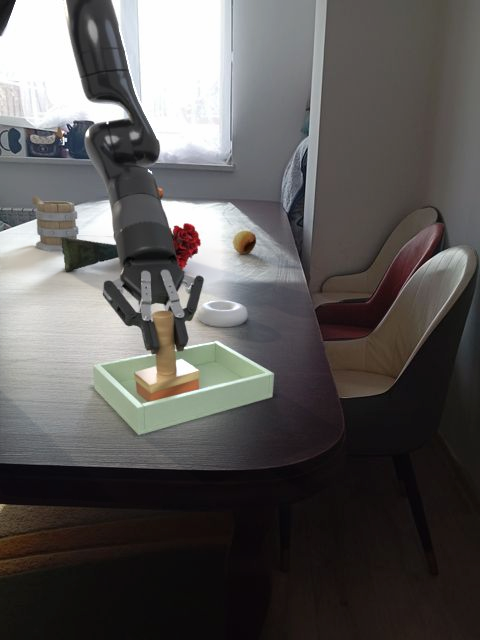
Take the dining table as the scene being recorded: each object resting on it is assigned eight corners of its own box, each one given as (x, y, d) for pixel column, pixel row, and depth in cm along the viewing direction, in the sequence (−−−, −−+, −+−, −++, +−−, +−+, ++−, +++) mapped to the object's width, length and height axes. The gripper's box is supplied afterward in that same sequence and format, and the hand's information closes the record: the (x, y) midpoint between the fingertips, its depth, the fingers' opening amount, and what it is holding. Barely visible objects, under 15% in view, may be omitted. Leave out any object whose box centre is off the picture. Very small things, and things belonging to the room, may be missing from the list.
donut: (251, 330, 98) (242, 313, 107) (252, 312, 97) (243, 297, 106) (199, 331, 96) (194, 314, 105) (199, 313, 95) (194, 298, 104)
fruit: (256, 253, 174) (257, 229, 171) (253, 257, 166) (254, 232, 163) (234, 251, 174) (235, 227, 171) (230, 256, 166) (231, 231, 164)
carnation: (69, 301, 136) (198, 288, 147) (63, 267, 119) (209, 256, 131) (62, 249, 140) (188, 241, 152) (55, 209, 124) (197, 203, 135)
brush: (151, 406, 65) (144, 324, 61) (135, 392, 68) (127, 314, 64) (200, 390, 69) (197, 312, 65) (183, 378, 73) (178, 303, 68)
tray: (138, 437, 59) (137, 408, 58) (94, 390, 70) (92, 364, 69) (272, 398, 71) (274, 373, 69) (216, 363, 81) (217, 340, 80)
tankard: (88, 248, 165) (84, 200, 160) (50, 252, 156) (45, 201, 151) (56, 240, 177) (52, 194, 172) (20, 243, 168) (14, 195, 163)
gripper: (91, 220, 64) (114, 343, 58) (198, 219, 70) (229, 331, 64) (88, 254, 71) (109, 369, 65) (187, 251, 76) (214, 356, 70)
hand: (168, 349), depth 64 cm, fingers closed on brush, 2 cm apart
